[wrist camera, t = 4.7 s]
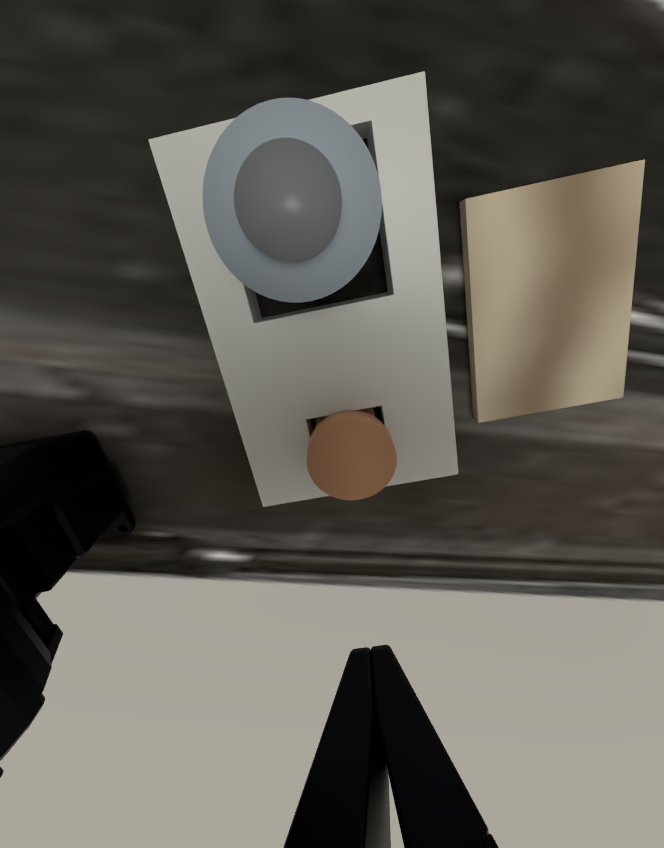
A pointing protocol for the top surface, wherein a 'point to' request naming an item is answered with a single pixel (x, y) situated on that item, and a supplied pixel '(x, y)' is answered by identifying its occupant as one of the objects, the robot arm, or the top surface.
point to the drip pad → (550, 290)
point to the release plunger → (351, 454)
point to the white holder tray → (333, 309)
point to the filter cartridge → (292, 200)
